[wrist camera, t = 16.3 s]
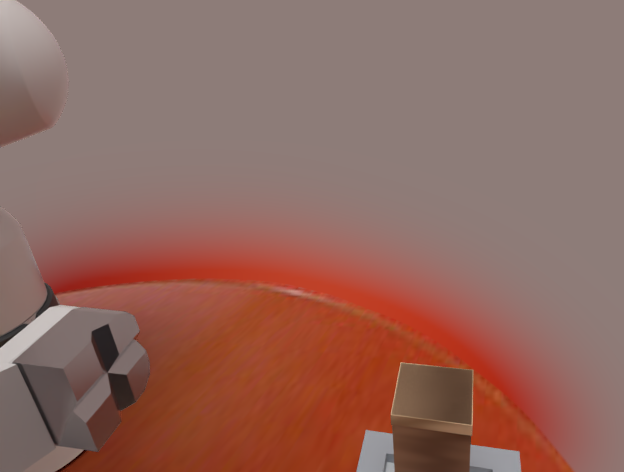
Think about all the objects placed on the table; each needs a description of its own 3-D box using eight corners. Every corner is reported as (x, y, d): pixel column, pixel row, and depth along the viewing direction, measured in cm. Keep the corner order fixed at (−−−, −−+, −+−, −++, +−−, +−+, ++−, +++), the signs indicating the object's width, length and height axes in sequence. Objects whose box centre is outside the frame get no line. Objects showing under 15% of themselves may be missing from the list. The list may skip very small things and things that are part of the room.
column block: (397, 540, 36) (390, 414, 31) (405, 483, 40) (400, 362, 34) (466, 555, 35) (472, 425, 29) (467, 494, 39) (473, 370, 33)
